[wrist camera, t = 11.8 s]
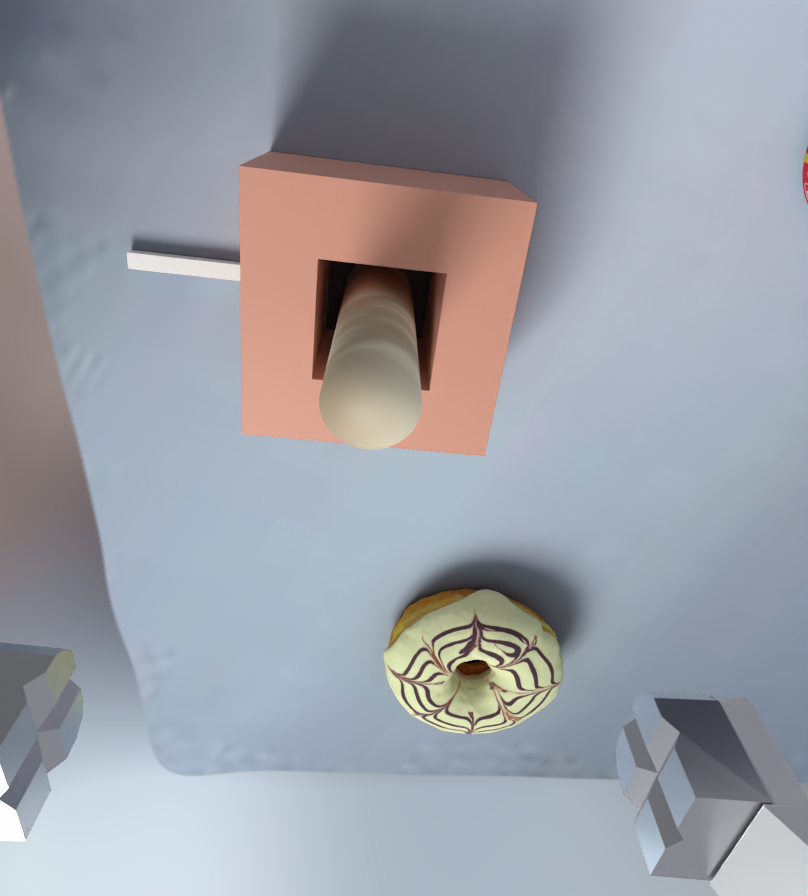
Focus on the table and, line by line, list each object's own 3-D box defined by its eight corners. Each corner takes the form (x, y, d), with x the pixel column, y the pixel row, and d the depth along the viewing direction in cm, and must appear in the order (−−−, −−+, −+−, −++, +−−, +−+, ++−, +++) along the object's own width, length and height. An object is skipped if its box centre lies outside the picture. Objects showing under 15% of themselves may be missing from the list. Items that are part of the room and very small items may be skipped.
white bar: (268, 265, 28) (266, 268, 27) (268, 280, 28) (266, 283, 28) (131, 249, 27) (126, 252, 27) (132, 265, 28) (128, 268, 27)
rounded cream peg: (415, 260, 28) (428, 362, 18) (407, 324, 29) (415, 453, 19) (348, 252, 28) (321, 351, 17) (344, 317, 29) (316, 444, 19)
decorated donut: (480, 546, 36) (489, 590, 33) (585, 642, 40) (602, 690, 37) (353, 635, 40) (350, 684, 36) (461, 716, 44) (467, 766, 40)
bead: (508, 181, 26) (537, 202, 21) (468, 395, 31) (484, 456, 26) (269, 151, 26) (238, 166, 20) (267, 375, 31) (241, 433, 25)
